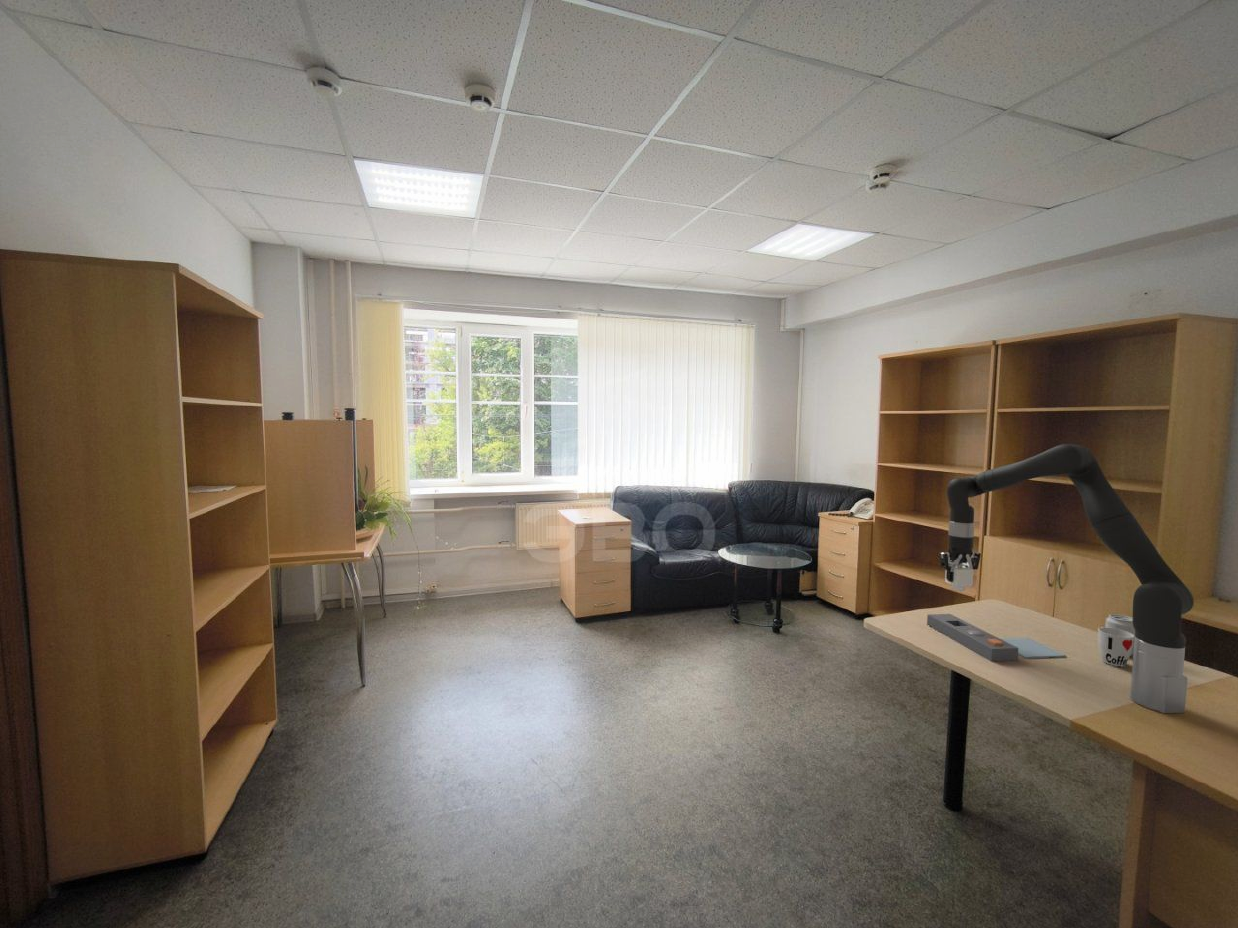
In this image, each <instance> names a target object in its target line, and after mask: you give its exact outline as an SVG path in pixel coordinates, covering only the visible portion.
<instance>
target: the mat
mask: <svg viewBox="0 0 1238 928" xmlns="http://www.w3.org/2000/svg"><path fill="white" fill-rule="evenodd" d="M999 639H1001V640H1003V641H1005V642H1007V643H1009V644H1011V645H1013V646H1015V647H1017V648H1018V657H1022V658H1024V659H1049V657H1056V658H1066V657H1067V655H1066V654H1064V653H1061V652H1060V651H1058V650H1055V649H1053V648H1051V647H1049V646H1047V645H1045V644H1043V643H1041V642H1039V641H1036V640H1034V639H1032V638H1030V637H1011V638H1010V637H1008V638H1007V637H1004V638H999Z"/></svg>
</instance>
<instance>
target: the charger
mask: <svg viewBox="0 0 1238 928" xmlns="http://www.w3.org/2000/svg"><path fill="white" fill-rule="evenodd" d="M950 568H951V567H950ZM946 572H947V571H946V570H945V572H944V573H945V576H944V582H945V583H947V584H949V585H951V590H954V591H958V592H965V591H966V587H973V583H974V582H973V581H974V570H973V569H971V568H968V567H965V566H964V565H963V563H958V565H957V566H956V567H955V568H954V571H953V572H954V577H953V582H950V581H948V580H947V579H946Z"/></svg>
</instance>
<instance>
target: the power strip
mask: <svg viewBox="0 0 1238 928" xmlns="http://www.w3.org/2000/svg"><path fill="white" fill-rule="evenodd" d="M926 615H927V616H926V617H927V619H926V625H927V626H928V625H929V626H928V627H930V626H931V627H930V628H931V629H933V628H934V629H933V630H935V631H937V632H939V633H940V634H942V635H944V636H946V637H947V638H949V639H951V640H953V641H955V642H956V643H958V644H960V645H961V646H962V647H963V646H964V647H965V648H968V649H969V650H971V651H973V653H976V654H978V656H979V655H980V656H981V657H983V658H984V659H986V660H988V661H990V662H1001V661H1002V662H1004V661H1005V662H1006V661H1019V655H1018V648H1017V647H1015V646H1013V645H1011V644H1009V643H1007V642H1005V641H1003V640H1001V639H1000V638H999V637H997V636H995V635H994V634H991V633H989V632H987V631H985V630H983V629H982V628H979V627H978V626H975V625H973V624H971V623H969V622H967V621H966V620H964V619H961V618H960V617H957V616H956V615H954V614H952V613H937V614H936V613H935V614H934V613H931V614H928V613H927V614H926Z"/></svg>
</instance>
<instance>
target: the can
mask: <svg viewBox="0 0 1238 928" xmlns="http://www.w3.org/2000/svg"><path fill="white" fill-rule="evenodd" d="M1104 627H1107V628H1114V629H1119V630H1123V631H1126V632H1129V633H1131V634H1133V635H1134V640H1133V646H1132V651H1131V654H1130V657H1132V656H1133V654H1134V642H1135V629H1134V627H1133V617H1131V616H1128V615H1123V614H1115V613H1113V614H1112V613H1111V614H1109V615H1108V617H1106V618H1105V626H1104Z"/></svg>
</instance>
